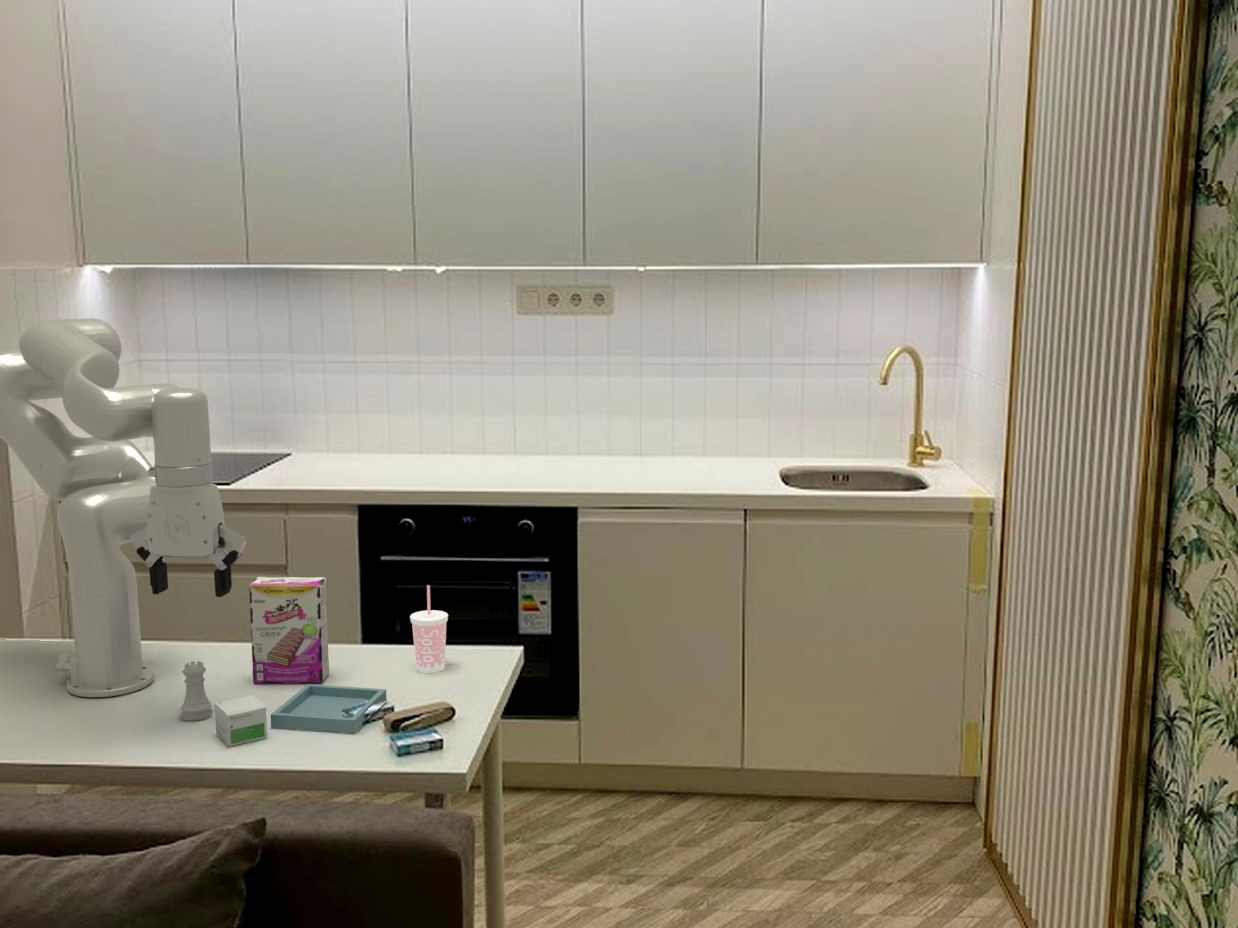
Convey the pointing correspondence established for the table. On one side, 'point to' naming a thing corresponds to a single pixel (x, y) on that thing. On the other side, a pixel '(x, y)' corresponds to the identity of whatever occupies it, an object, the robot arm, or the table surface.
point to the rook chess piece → (195, 694)
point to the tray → (325, 708)
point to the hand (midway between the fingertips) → (191, 593)
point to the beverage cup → (429, 638)
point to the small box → (240, 720)
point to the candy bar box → (289, 630)
